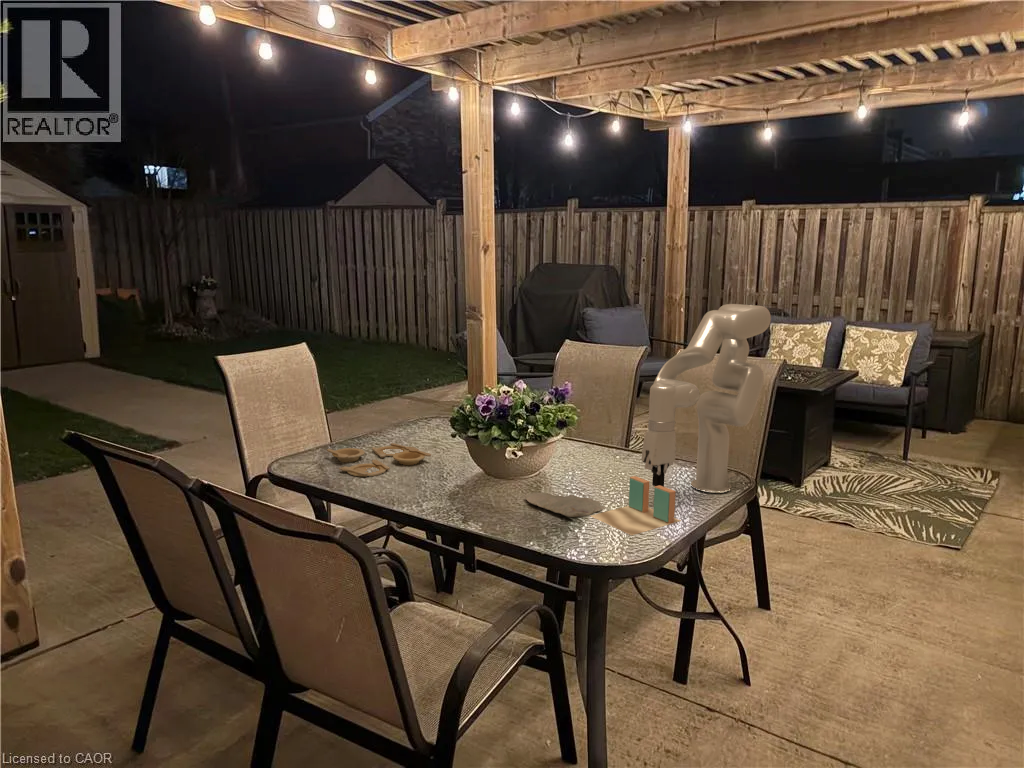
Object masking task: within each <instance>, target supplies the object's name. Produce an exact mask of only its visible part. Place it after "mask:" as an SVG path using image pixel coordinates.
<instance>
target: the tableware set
mask: <svg viewBox="0 0 1024 768" xmlns="http://www.w3.org/2000/svg"><path fill="white" fill-rule="evenodd" d="M385 449H401V450H403V452H400V453H395V454H386V453H384V452H383V450H385ZM371 450H372V451H373V452H374V454H375V455H377V456H379V457H380V458H381V459H382V458H385V457H388V456H390V457H392V459H394V461H398V462H399V464H400V465H402V464H403V465H402V466H414V464H415V465H418V464H419V463H420V461H423V460H424V459H425V458H426V457H428V458H429V457H432V453H430V452H426V451H422V450H419V448H417V447H414V446H406V445H402V444H398V443H394V442H391V443H390V445H385V446H379V447H372V448H371ZM326 452H328V453H330V454H331V455H332V456H333V457H335V458H337V460H338V461H339V462H340V461H341V463H353V461H354V462H357V461H358V460H359V459H360V457H362V456H363V455H365V453H366V452H365V450H364V449H360V448H355V447H354V448H353V447H351V448H350V447H345V448H338V449H336V450H334V449H332V448H327V449H326ZM417 463H418V464H417ZM372 467H375V468H377V469H379V471H376V472H372V473H368V472H365V471H367V469H368V468H372ZM366 468H367V469H366ZM390 469H391V468H390V467H389V466H388V465H386V464H385V463H384V462H382V461H380V460H378V459H373V460H371V463H367V462H366V463H360V464H359V463H358V464H353V465H351V466H341V467H338V470H340V471H343V472H347V474H349V475H351V476H355V477H362V478H363V477H366V478H367V476H369V477H374V476H376V477H377V476H380V475H382V473H383V474H384V473H386V472H387V471H390Z"/></svg>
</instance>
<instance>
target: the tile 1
mask: <svg viewBox="0 0 1024 768" xmlns="http://www.w3.org/2000/svg"><path fill="white" fill-rule="evenodd" d="M650 483H651V482H650V481H649V480H646V479H644V478H642V477H638V476H636V475H634V476H629V489H628V490H629V491H628V506H629V507H631V508H633V509H636V510H638V511H641V512H643V513H644V512H647V511H648V507H649V503H650V502H649V501H650Z"/></svg>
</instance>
